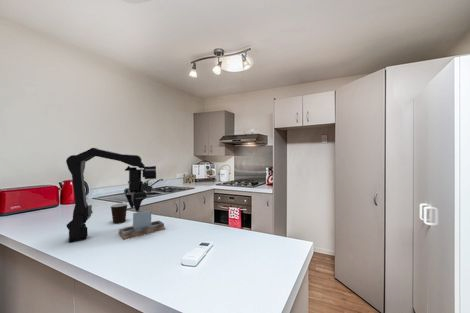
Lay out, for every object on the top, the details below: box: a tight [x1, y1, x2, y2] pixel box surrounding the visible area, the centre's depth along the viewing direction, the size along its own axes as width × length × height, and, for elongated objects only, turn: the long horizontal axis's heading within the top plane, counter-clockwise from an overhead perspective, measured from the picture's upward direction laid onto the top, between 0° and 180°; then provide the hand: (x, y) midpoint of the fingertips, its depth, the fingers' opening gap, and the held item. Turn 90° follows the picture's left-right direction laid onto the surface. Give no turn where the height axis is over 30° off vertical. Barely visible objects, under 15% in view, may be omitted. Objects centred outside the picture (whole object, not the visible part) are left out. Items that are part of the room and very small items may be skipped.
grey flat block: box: [132, 209, 152, 230], centre depth 106 cm, size 8×3×9 cm, turn 132°
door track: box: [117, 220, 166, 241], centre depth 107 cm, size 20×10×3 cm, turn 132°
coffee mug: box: [110, 203, 128, 225], centre depth 124 cm, size 12×9×10 cm
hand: (134, 209), depth 106 cm, fingers open, 9 cm apart
